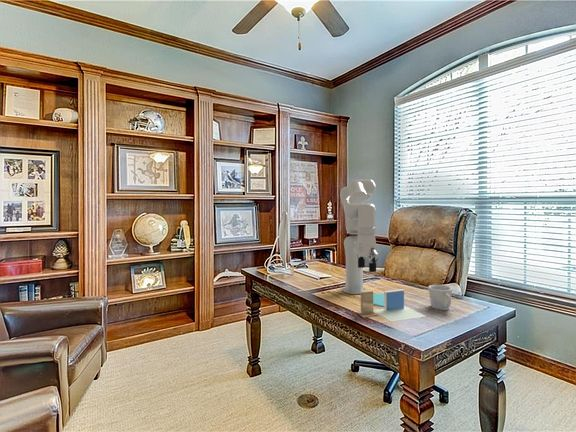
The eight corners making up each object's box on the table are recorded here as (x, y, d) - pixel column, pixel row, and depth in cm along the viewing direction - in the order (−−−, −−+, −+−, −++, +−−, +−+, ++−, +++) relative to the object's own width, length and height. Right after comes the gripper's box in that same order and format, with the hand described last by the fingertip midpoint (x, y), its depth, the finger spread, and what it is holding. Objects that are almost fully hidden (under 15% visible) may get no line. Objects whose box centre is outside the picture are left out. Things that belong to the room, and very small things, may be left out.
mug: (445, 304, 160) (445, 284, 160) (461, 315, 145) (462, 293, 145) (424, 304, 160) (424, 284, 159) (438, 315, 145) (438, 293, 145)
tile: (384, 310, 151) (383, 291, 151) (402, 307, 154) (402, 289, 154) (386, 311, 150) (385, 292, 149) (404, 309, 153) (404, 290, 152)
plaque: (406, 303, 167) (370, 294, 179) (406, 299, 166) (370, 291, 179) (393, 312, 153) (355, 302, 166) (394, 308, 153) (355, 298, 166)
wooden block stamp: (356, 314, 149) (356, 290, 148) (370, 312, 151) (370, 288, 150) (363, 319, 143) (363, 294, 142) (377, 317, 145) (377, 292, 144)
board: (372, 311, 152) (372, 310, 152) (404, 306, 157) (404, 305, 157) (390, 322, 138) (390, 321, 138) (426, 317, 143) (426, 316, 143)
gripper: (349, 230, 152) (350, 266, 153) (369, 233, 135) (369, 274, 136) (364, 229, 154) (364, 265, 155) (384, 232, 137) (385, 272, 138)
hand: (366, 269), depth 145 cm, fingers open, 9 cm apart
